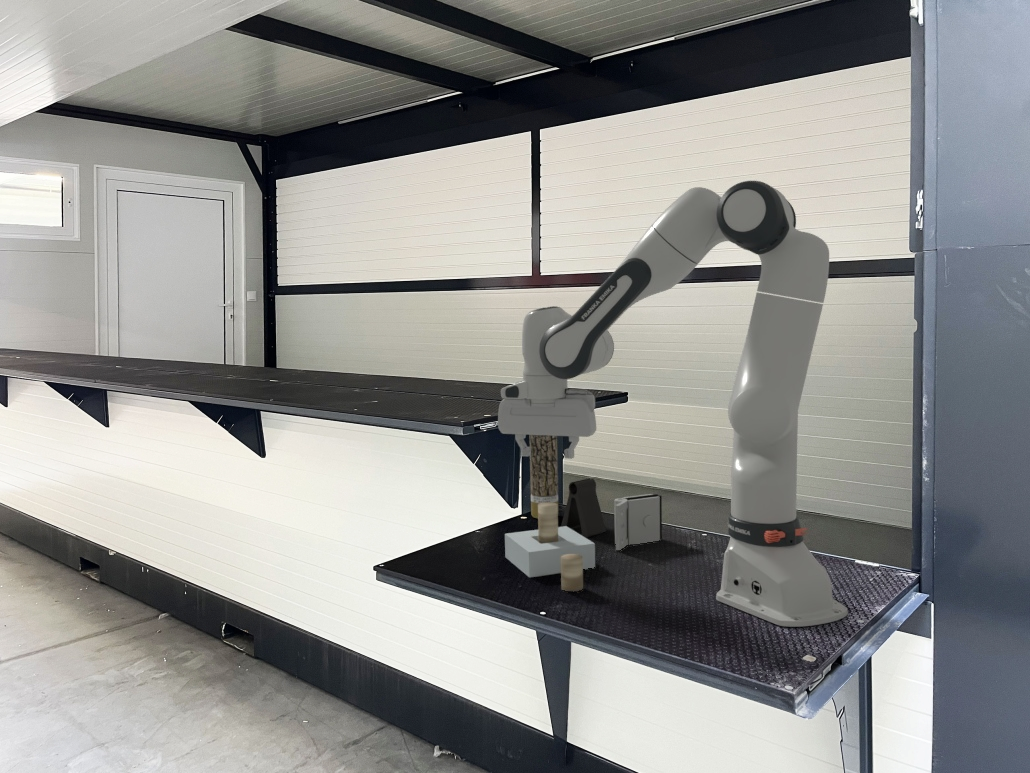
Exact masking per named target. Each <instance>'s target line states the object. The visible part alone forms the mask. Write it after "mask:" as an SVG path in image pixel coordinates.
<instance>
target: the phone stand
mask: <svg viewBox="0 0 1030 773" xmlns="http://www.w3.org/2000/svg"><path fill="white" fill-rule="evenodd" d="M595 480H596V479H594V478H590V477H589V478H586V479H580V480H575V481H572V482H570V483H569V484H568V497H567V502H566V506H565V510H564V514H563V517H562V520H561V521H562V522H561V525H560V527H563V526H567V527H569V528H570V529H572V530H574V531H575V532H577V533H578V534H580V535H582V536H583V537H585V538H587V539H588V538H590V537H591V538H592V537H594V536H597V535H601V534H604V533H603V532H605V533H606V532H607V529H606V525H605V520H604V517H603V513H602V510H601V507H600V502H599V498H598V495H597V482H596V481H595Z"/></svg>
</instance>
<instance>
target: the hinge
mask: <svg viewBox="0 0 1030 773" xmlns="http://www.w3.org/2000/svg"><path fill="white" fill-rule="evenodd" d="M662 499H663V498H662V495H659V494H657V493H648V494H638V495H632V496H630V495H629V496H623V497H621V498H619V497H618V498H615V499H614V501H613V502H614V508H613V510H614V545H615V544H616V545H615V551H616V550H621V549H622V548H624V547H625V546H626V545H628V544H629V545H630V544H640V543H647V542H653V541H659V540H660V539H662V540H663V531H662V530H663V525H662V524H663V523H662V520H663V519H662V518H663V515H662V513H663V511H662V506H663V505H662ZM660 541H661V540H660ZM653 543H654V542H653ZM647 544H648V543H647ZM640 545H641V544H640ZM624 549H625V548H624ZM621 551H622V550H621Z"/></svg>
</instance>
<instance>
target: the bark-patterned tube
mask: <svg viewBox="0 0 1030 773" xmlns="http://www.w3.org/2000/svg"><path fill="white" fill-rule="evenodd" d="M529 447H531V455H530V456H529V472H530V473H529V474H530V476H529V477H530V480H529V481H530V510H531V511H530V514H531V516H532V518H534V519H537V520H538V504H540V503H546V502H551V503H556V504H558V505H559V471H558V470H559V469H558V468H559V467H558V466H559V465H558V460H559V459H558V436H551V435H529Z"/></svg>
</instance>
